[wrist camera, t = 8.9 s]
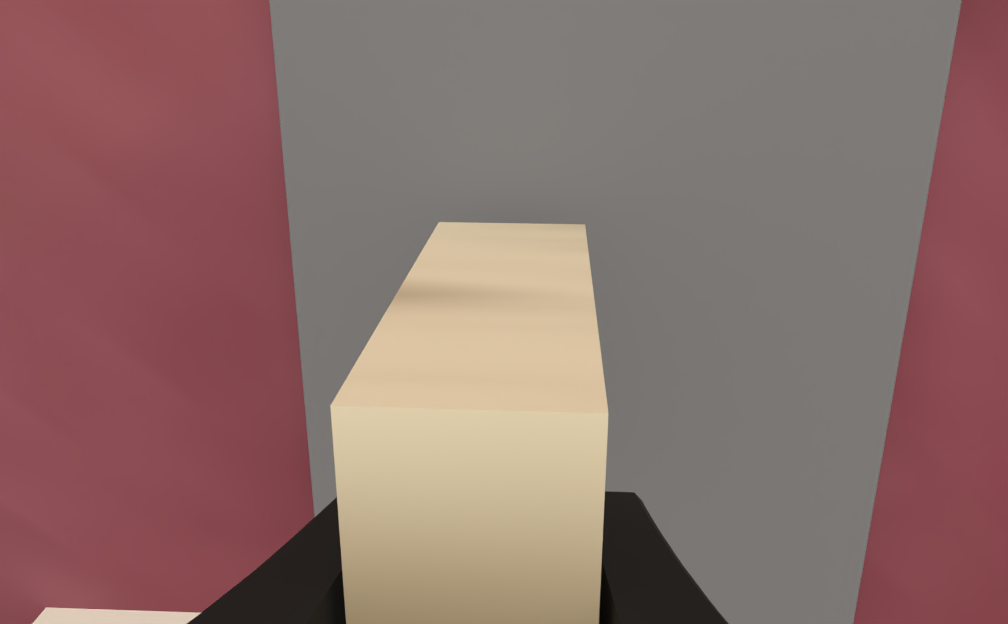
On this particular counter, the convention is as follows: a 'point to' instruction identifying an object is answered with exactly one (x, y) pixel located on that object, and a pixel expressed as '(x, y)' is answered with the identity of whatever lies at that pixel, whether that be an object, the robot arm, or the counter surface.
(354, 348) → the mat
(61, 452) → the counter surface
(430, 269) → the light wooden block
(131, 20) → the counter surface
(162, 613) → the tile
